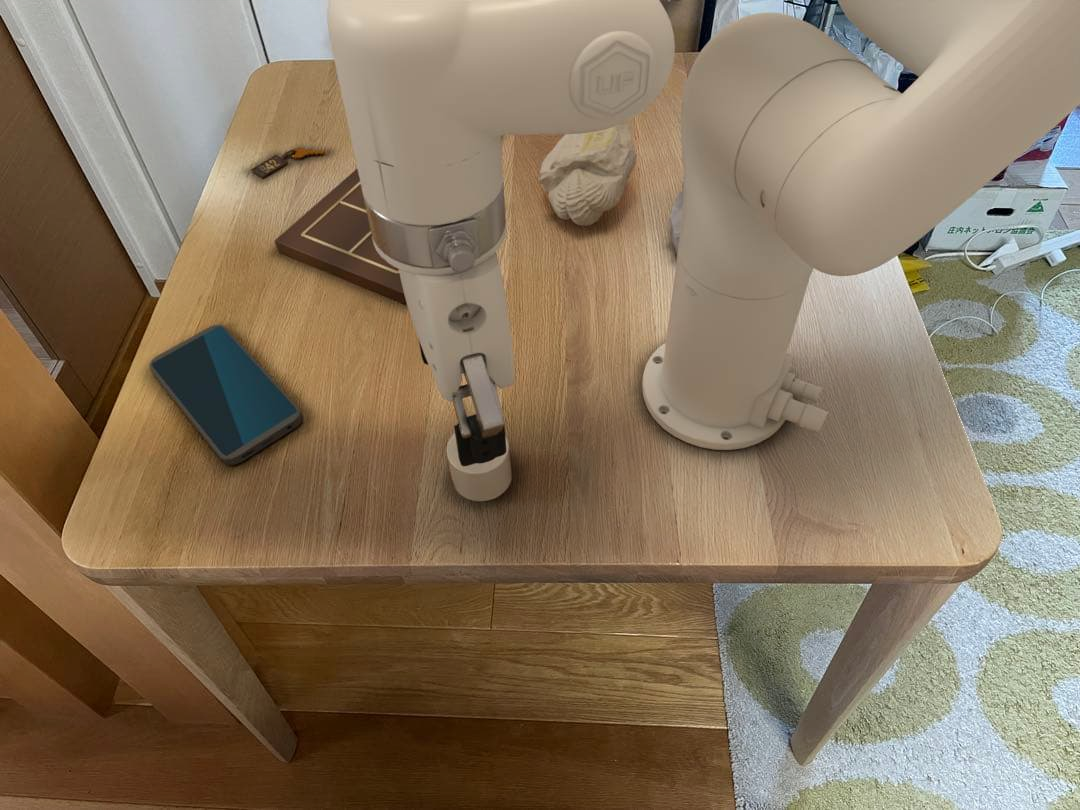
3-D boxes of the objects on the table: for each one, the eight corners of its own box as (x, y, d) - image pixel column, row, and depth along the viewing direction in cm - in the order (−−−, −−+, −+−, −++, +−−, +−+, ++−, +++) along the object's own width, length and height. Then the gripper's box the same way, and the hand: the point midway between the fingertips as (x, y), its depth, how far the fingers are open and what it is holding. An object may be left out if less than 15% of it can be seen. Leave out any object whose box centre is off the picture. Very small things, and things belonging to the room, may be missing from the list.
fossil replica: (546, 243, 84) (641, 237, 85) (552, 178, 77) (656, 173, 78) (529, 165, 90) (618, 160, 92) (533, 98, 83) (629, 95, 85)
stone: (523, 466, 67) (520, 437, 63) (491, 511, 64) (487, 483, 61) (473, 443, 68) (468, 413, 65) (440, 486, 66) (434, 457, 62)
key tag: (258, 179, 91) (256, 175, 91) (248, 166, 93) (246, 162, 92) (325, 153, 94) (324, 148, 93) (314, 141, 96) (313, 136, 95)
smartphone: (228, 470, 67) (225, 464, 66) (148, 368, 74) (143, 361, 73) (308, 420, 70) (305, 413, 69) (223, 326, 77) (220, 319, 76)
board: (493, 209, 87) (492, 197, 86) (405, 304, 78) (402, 292, 77) (373, 167, 92) (370, 155, 91) (278, 252, 84) (273, 239, 83)
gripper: (556, 296, 41) (554, 485, 54) (458, 114, 51) (476, 311, 64) (409, 334, 39) (444, 519, 53) (338, 139, 50) (383, 336, 63)
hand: (462, 405), depth 58 cm, fingers open, 9 cm apart
